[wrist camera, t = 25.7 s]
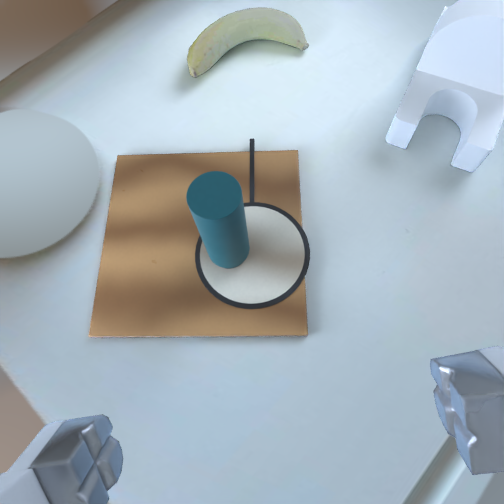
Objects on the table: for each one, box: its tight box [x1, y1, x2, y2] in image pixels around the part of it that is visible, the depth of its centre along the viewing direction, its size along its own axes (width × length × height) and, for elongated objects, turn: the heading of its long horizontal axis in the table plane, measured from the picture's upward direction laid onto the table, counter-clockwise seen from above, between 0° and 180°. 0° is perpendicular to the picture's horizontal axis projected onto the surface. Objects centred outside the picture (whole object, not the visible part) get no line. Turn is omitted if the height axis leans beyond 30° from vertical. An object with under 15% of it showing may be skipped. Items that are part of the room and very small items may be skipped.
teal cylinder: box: [186, 171, 250, 269], centre depth 32 cm, size 4×4×11 cm
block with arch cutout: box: [386, 0, 504, 172], centre depth 39 cm, size 18×10×11 cm, turn 153°
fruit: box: [187, 8, 309, 77], centre depth 47 cm, size 7×15×3 cm, turn 110°
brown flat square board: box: [89, 139, 310, 338], centre depth 39 cm, size 22×21×1 cm
